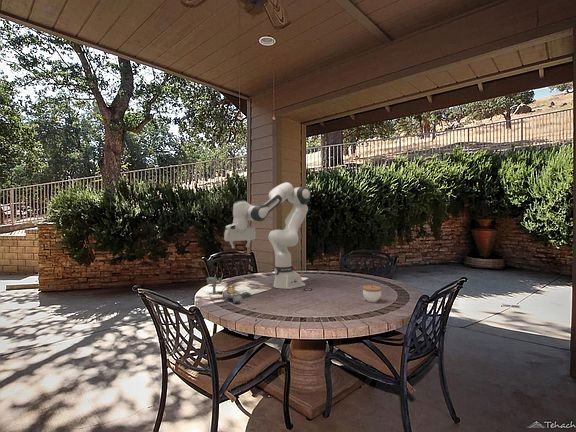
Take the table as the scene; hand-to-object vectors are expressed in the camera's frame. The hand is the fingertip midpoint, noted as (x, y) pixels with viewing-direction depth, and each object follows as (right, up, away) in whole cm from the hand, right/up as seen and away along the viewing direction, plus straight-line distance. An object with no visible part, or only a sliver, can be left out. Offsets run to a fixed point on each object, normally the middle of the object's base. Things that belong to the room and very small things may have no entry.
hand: (240, 247), depth 214 cm
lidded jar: (+79, -29, -18) cm, 87 cm away
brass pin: (-4, -30, -13) cm, 32 cm away
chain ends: (+2, -30, -14) cm, 33 cm away
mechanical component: (-17, -29, +1) cm, 34 cm away
